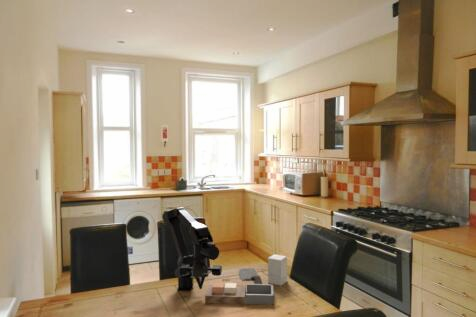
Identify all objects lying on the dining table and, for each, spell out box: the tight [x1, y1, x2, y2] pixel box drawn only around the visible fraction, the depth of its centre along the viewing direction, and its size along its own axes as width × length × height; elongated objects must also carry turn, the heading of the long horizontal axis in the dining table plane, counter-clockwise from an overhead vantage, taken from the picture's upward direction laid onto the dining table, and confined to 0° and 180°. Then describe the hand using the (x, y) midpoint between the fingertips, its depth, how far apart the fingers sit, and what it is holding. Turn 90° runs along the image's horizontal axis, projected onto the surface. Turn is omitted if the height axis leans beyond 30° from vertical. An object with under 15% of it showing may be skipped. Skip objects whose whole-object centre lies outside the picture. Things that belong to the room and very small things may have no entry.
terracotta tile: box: [212, 282, 226, 293], centre depth 161 cm, size 5×5×2 cm
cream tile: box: [224, 282, 238, 293], centre depth 161 cm, size 5×5×2 cm
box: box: [245, 283, 275, 306], centre depth 160 cm, size 12×12×4 cm
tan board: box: [204, 284, 247, 305], centre depth 161 cm, size 17×12×3 cm
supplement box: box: [267, 253, 288, 287], centre depth 178 cm, size 7×7×13 cm
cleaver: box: [238, 267, 263, 284], centre depth 183 cm, size 29×10×2 cm, turn 9°
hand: (200, 288), depth 162 cm, fingers closed
